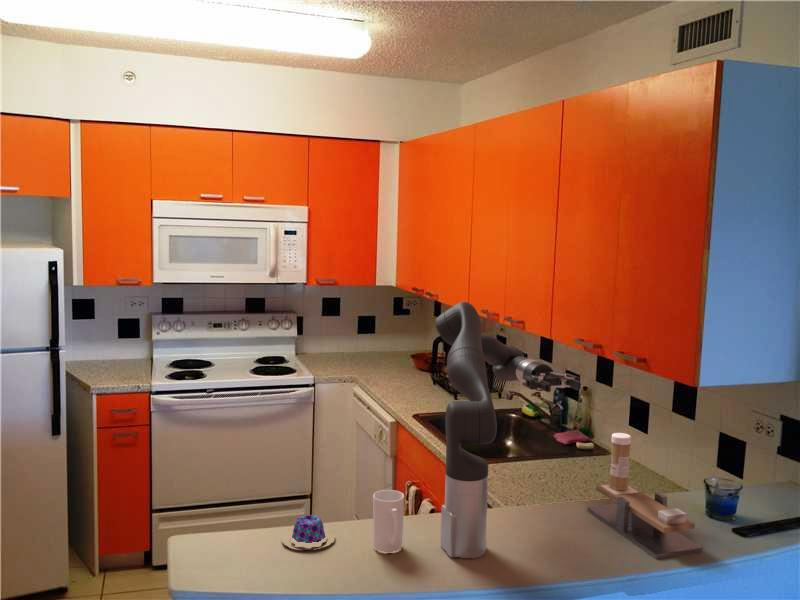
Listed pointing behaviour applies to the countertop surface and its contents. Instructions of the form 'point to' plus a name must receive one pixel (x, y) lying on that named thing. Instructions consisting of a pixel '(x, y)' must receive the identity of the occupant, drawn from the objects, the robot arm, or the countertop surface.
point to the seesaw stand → (643, 530)
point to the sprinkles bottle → (620, 461)
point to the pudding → (308, 529)
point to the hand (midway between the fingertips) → (564, 387)
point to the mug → (388, 520)
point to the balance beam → (649, 509)
